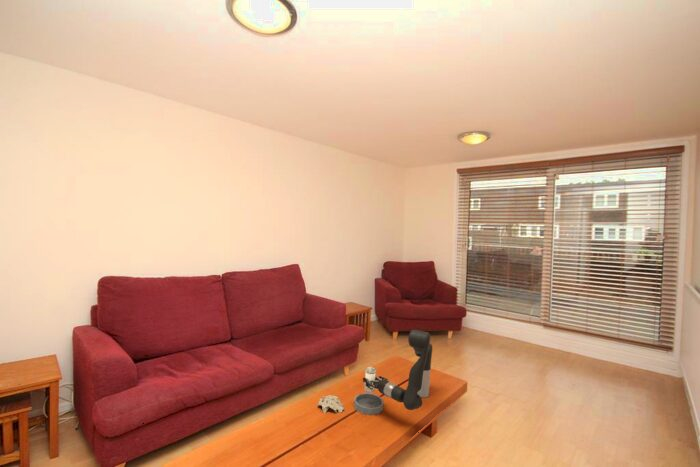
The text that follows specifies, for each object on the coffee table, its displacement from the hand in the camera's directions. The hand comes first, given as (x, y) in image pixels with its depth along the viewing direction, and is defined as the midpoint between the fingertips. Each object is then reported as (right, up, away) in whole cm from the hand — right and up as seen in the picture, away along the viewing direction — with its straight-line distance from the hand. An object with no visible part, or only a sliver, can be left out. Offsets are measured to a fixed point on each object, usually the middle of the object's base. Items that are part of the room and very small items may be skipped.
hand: (367, 377), depth 195 cm
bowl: (+1, -16, -1) cm, 16 cm away
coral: (-22, -16, -4) cm, 27 cm away
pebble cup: (+1, -7, -2) cm, 7 cm away
